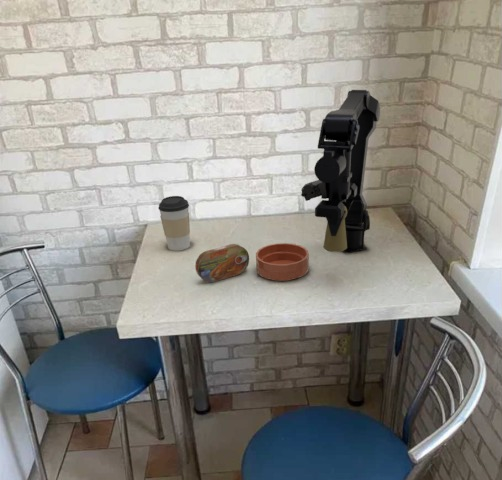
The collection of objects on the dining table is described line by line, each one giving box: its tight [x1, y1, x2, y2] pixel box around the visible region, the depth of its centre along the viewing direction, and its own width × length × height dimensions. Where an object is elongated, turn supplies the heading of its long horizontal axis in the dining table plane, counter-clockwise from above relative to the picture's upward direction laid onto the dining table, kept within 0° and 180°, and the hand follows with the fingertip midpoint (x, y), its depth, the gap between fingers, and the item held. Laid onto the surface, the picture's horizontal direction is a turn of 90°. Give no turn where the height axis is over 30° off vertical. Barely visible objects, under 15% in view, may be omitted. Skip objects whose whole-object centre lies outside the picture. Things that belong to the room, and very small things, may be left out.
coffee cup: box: [158, 195, 191, 251], centre depth 160 cm, size 9×9×15 cm
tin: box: [194, 243, 250, 283], centre depth 142 cm, size 15×3×8 cm, turn 117°
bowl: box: [255, 242, 310, 282], centre depth 144 cm, size 14×14×5 cm
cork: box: [323, 206, 347, 253], centre depth 133 cm, size 6×6×11 cm
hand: (335, 232), depth 134 cm, fingers closed on cork, 4 cm apart
